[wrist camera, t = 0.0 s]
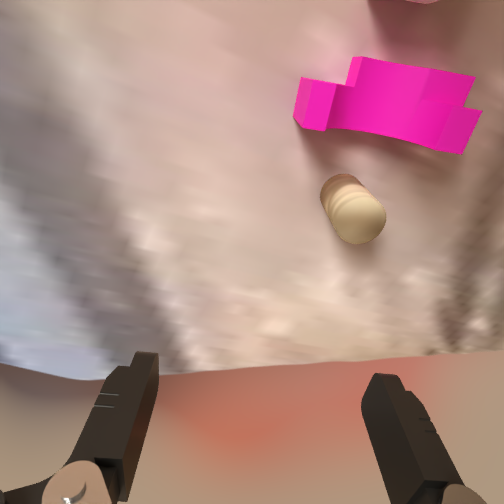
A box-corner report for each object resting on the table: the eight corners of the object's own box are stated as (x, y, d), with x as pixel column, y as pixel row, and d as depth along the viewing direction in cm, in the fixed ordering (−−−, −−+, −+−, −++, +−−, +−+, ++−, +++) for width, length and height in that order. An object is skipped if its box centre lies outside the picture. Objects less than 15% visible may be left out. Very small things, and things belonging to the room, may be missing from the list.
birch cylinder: (325, 171, 38) (343, 195, 31) (367, 176, 38) (393, 201, 31) (316, 210, 40) (329, 241, 33) (354, 215, 41) (376, 246, 34)
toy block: (449, 75, 33) (498, 78, 27) (423, 138, 36) (461, 154, 30) (306, 48, 32) (321, 44, 25) (292, 115, 35) (302, 127, 29)
